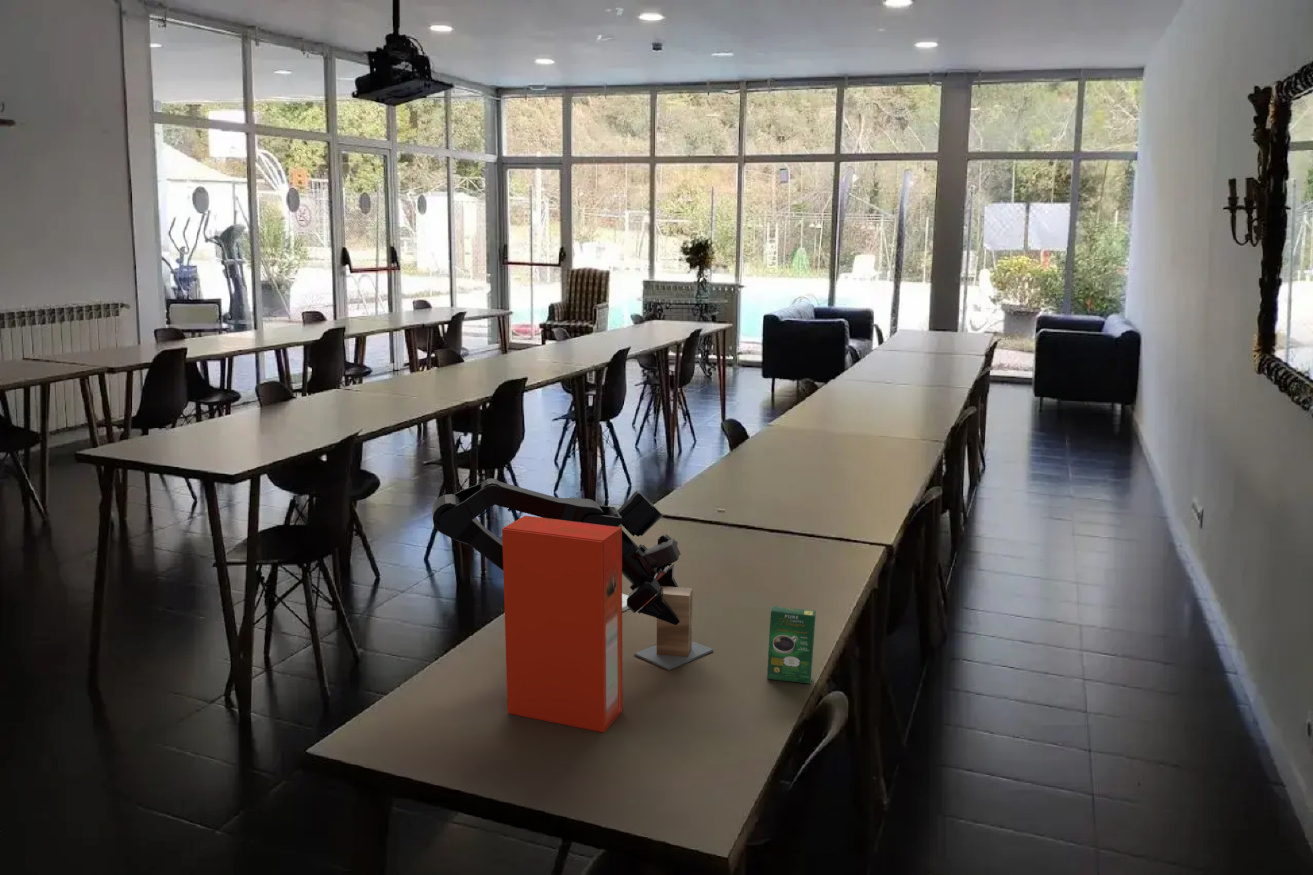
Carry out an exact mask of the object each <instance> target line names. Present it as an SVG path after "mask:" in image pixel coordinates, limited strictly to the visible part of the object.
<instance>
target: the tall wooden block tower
mask: <svg viewBox="0 0 1313 875" xmlns="http://www.w3.org/2000/svg"><path fill="white" fill-rule="evenodd" d="M662 587H663V598H664V600H665V601H666V602H667V604H668V605H669V606H670V608H671V609H672V610H673V612H674V613H675V614H676V616H677V617H678V619H679V620H680V622H679V623H678V624H677V625H674V624H671V623H668V622H666V621H663V620H661V619H658V618H656V645H657V654H659V655H671V656H683V657H689V654H690V651H691V649H692V641H693V640H692V639H693V638H692V637H693V588H692V587H680V586H678V587H667V586H661V587H660V589H661V588H662ZM660 589H659V590H660Z"/></svg>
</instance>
